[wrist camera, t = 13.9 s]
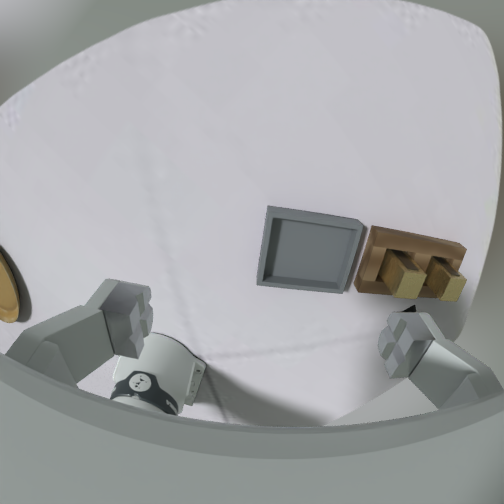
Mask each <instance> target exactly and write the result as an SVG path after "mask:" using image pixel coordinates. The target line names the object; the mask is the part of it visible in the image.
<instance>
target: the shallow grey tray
mask: <svg viewBox="0 0 504 504" xmlns="http://www.w3.org/2000/svg"><path fill="white" fill-rule="evenodd" d="M362 229H363V225H362V224H361V223H360V222H359V220H358V219H352V218H346V217H340V216H334V215H328V214H322V213H315V212H309V211H302V210H296V209H289V208H282V207H274V206H267V213H266V219H265V226H264V232H263V239H262V245H261V252H260V258H259V265H258V271H257V285H260V286H269V287H278V288H287V289H297V290H307V291H317V292H328V293H339V294H343V291H344V288H345V285H346V282H347V279H348V276H349V273H350V269H351V266H352V263H353V260H354V257H355V253H356V250H357V247H358V243H359V240H360V236H361V233H362Z"/></svg>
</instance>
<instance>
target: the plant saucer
mask: <svg viewBox="0 0 504 504" xmlns="http://www.w3.org/2000/svg"><path fill="white" fill-rule="evenodd" d="M19 309H20V301H19V294H18V289H17V285H16V282H15V279H14V277H13V274H12V272H11V270H10V268H9V266H8V264H7V262H6V260H5V259H4V257H3V256H2V254H1V253H0V320H2V321H4V322H6V323H13V322H15V321H16V320H17V318H18V315H19Z"/></svg>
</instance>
